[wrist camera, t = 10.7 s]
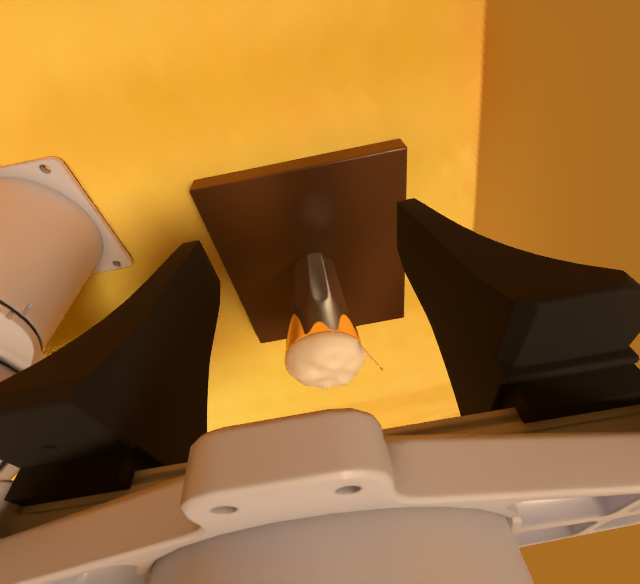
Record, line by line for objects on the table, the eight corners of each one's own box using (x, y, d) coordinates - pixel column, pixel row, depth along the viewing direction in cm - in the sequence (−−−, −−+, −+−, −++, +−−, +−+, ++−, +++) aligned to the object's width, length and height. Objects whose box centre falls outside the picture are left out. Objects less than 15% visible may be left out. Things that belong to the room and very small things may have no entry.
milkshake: (364, 268, 25) (400, 386, 18) (306, 300, 27) (317, 420, 20) (331, 226, 22) (358, 347, 15) (269, 265, 24) (267, 390, 17)
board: (261, 330, 31) (260, 343, 30) (193, 179, 21) (188, 191, 20) (399, 305, 31) (404, 317, 30) (400, 137, 20) (407, 147, 19)
